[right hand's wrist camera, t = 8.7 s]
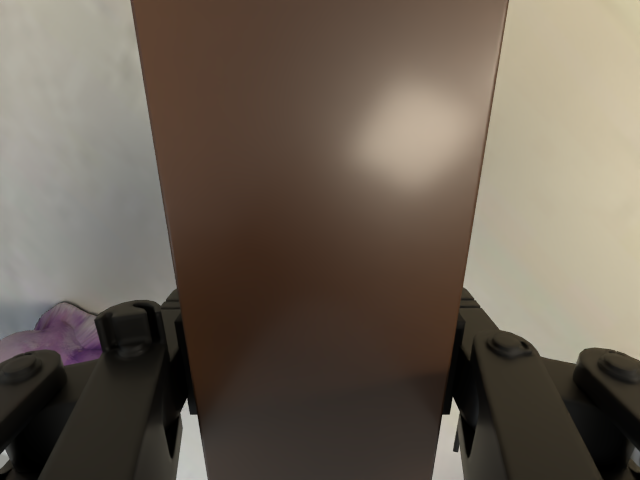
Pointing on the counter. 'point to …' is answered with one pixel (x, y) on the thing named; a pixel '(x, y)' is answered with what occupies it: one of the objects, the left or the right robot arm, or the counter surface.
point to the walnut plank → (319, 219)
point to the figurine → (58, 336)
